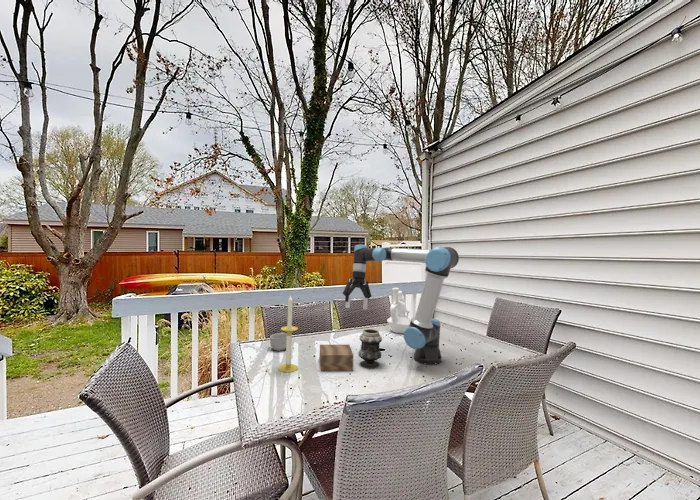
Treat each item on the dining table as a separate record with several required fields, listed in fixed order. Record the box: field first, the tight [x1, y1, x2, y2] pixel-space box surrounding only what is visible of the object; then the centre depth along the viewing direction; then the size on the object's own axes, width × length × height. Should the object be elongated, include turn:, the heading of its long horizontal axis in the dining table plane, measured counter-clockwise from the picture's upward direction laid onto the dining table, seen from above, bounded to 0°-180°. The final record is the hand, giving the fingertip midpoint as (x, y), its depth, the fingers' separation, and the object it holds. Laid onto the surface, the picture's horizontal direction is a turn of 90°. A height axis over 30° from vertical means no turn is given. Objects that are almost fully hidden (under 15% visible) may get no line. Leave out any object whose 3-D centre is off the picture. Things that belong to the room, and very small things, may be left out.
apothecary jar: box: [357, 328, 383, 369], centre depth 182 cm, size 12×12×18 cm
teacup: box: [269, 332, 287, 352], centre depth 202 cm, size 14×11×8 cm
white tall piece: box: [386, 287, 411, 334], centre depth 243 cm, size 18×22×32 cm
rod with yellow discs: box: [277, 294, 299, 373], centre depth 172 cm, size 10×10×38 cm
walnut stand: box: [318, 344, 354, 372], centre depth 180 cm, size 16×16×8 cm
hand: (356, 308), depth 197 cm, fingers open, 13 cm apart
